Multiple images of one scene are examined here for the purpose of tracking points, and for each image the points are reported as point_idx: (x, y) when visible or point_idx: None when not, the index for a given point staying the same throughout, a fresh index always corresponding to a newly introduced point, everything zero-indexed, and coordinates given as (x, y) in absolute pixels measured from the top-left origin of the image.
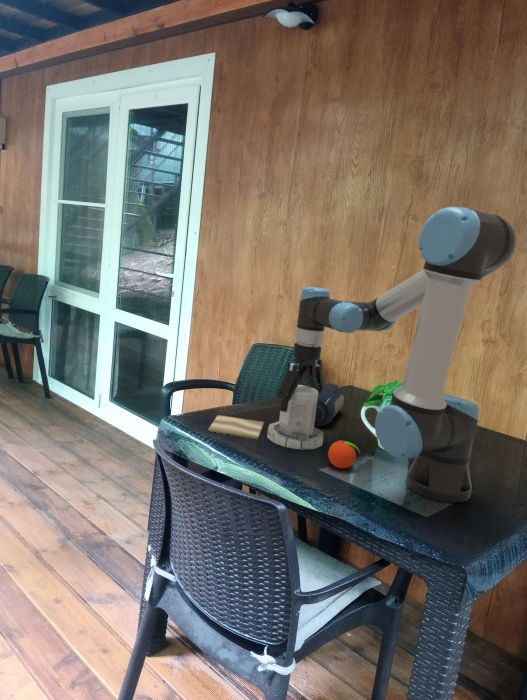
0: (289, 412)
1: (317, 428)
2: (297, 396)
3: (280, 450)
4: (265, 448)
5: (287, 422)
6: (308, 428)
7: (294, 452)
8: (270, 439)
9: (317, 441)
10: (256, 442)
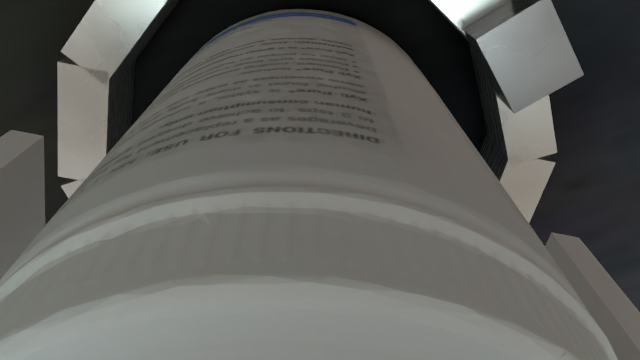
0: (631, 317)
1: (76, 38)
2: None
3: (615, 132)
4: (631, 221)
5: (584, 246)
6: (384, 53)
7: (601, 33)
8: None
9: None
10: None
